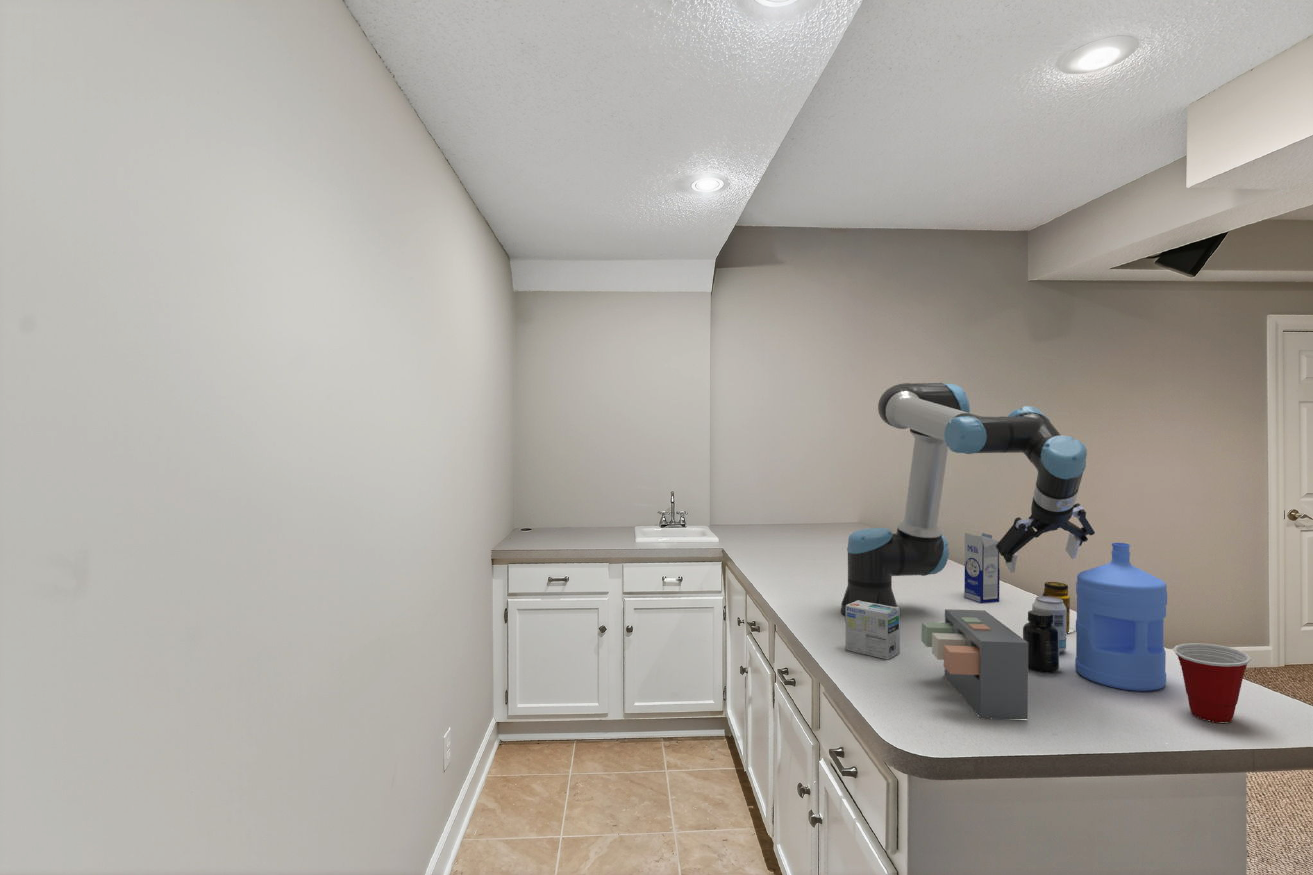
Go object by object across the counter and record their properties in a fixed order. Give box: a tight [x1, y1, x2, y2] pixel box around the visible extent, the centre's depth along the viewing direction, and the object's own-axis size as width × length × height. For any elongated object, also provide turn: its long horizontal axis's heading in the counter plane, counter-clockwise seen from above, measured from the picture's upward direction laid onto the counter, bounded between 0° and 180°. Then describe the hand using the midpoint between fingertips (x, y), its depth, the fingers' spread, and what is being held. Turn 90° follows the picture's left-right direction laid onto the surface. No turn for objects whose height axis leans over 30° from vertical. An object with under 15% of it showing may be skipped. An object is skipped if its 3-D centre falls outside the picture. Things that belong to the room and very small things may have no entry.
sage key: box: [921, 621, 953, 648], centre depth 140 cm, size 7×4×4 cm, turn 84°
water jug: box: [1074, 542, 1168, 692], centre depth 141 cm, size 16×16×28 cm
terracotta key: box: [943, 645, 980, 675], centre depth 125 cm, size 7×4×4 cm, turn 84°
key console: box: [943, 608, 1029, 720], centre depth 132 cm, size 8×21×14 cm, turn 174°
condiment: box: [1042, 581, 1076, 633], centre depth 173 cm, size 7×8×12 cm
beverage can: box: [1031, 595, 1067, 654], centre depth 158 cm, size 7×7×12 cm
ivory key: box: [931, 633, 966, 661], centre depth 132 cm, size 7×4×4 cm, turn 84°
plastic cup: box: [1172, 642, 1252, 723], centre depth 122 cm, size 11×11×12 cm
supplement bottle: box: [1022, 610, 1060, 674], centre depth 147 cm, size 7×7×12 cm
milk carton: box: [963, 532, 1001, 604], centre depth 203 cm, size 7×7×20 cm
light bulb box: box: [845, 600, 901, 661], centre depth 158 cm, size 11×7×11 cm, turn 48°
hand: (1039, 561), depth 154 cm, fingers open, 13 cm apart
